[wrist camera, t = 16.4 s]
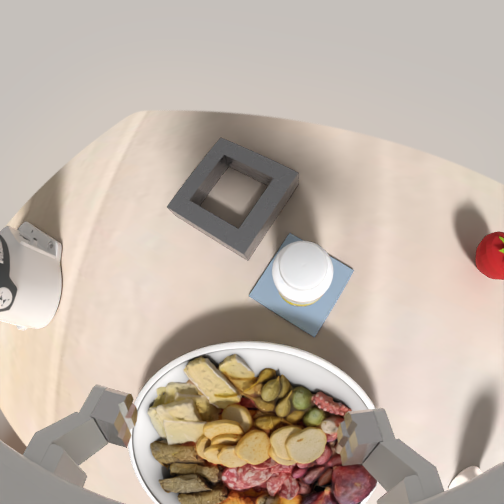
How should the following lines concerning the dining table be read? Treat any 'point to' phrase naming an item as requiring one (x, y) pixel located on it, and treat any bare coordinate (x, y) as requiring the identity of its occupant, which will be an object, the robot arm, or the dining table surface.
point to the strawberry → (491, 255)
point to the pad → (301, 316)
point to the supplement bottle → (302, 273)
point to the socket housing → (263, 212)
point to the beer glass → (465, 476)
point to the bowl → (247, 429)
